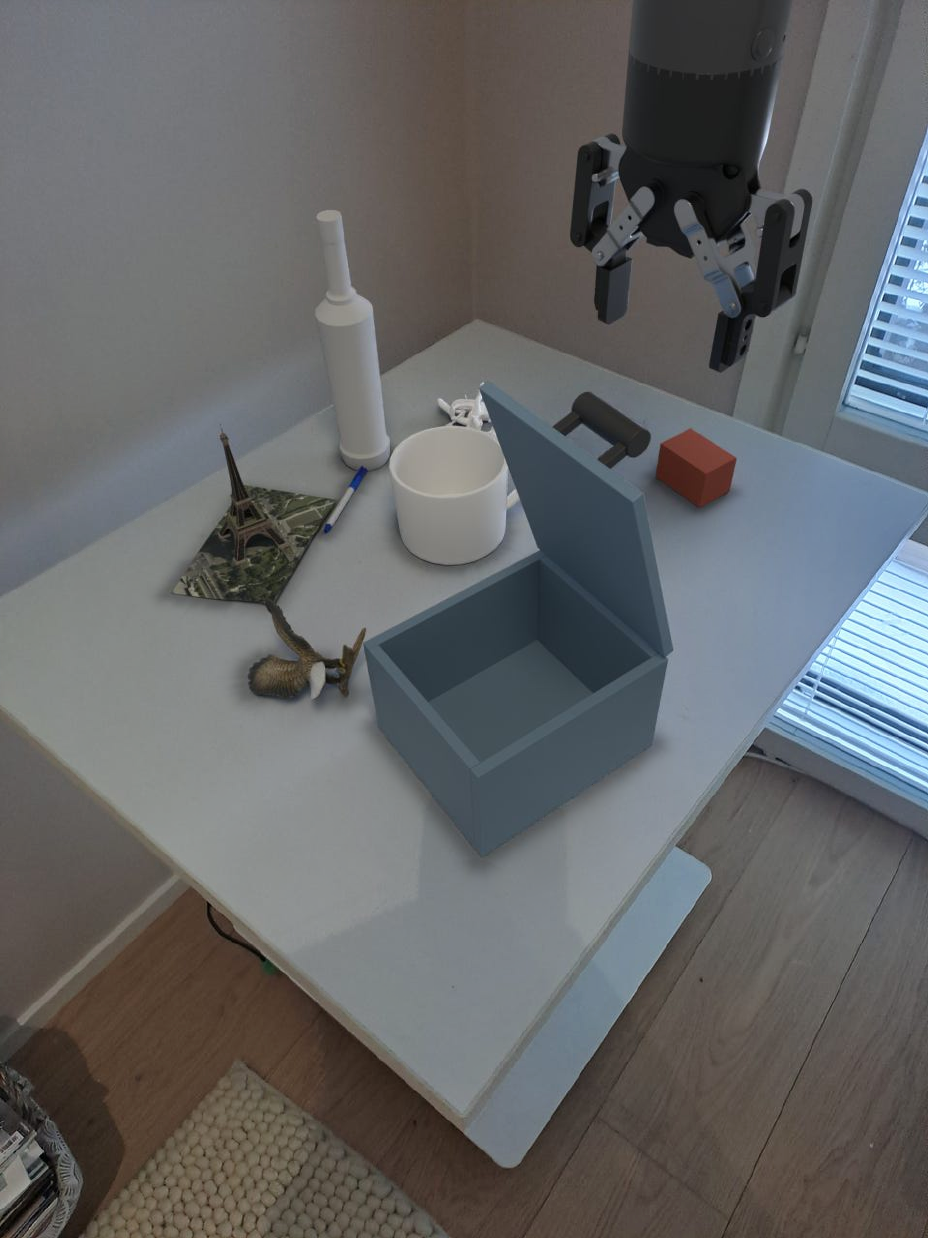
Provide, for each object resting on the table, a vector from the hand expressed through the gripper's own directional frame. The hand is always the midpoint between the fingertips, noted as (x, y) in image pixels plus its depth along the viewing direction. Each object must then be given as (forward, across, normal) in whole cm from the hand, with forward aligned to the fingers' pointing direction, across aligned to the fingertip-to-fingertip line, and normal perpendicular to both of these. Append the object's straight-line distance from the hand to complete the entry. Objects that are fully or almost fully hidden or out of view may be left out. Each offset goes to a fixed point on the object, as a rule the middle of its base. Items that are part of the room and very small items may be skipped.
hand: (665, 341), depth 56 cm
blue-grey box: (+26, -1, +15) cm, 30 cm away
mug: (+26, +18, 0) cm, 32 cm away
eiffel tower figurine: (+26, +31, +16) cm, 44 cm away
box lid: (+8, -2, +10) cm, 13 cm away
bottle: (+26, +34, 0) cm, 43 cm away
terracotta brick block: (+26, +7, -19) cm, 33 cm away
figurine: (+26, +30, -11) cm, 41 cm away
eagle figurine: (+26, +15, +22) cm, 38 cm away
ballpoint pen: (+26, +30, +6) cm, 41 cm away
